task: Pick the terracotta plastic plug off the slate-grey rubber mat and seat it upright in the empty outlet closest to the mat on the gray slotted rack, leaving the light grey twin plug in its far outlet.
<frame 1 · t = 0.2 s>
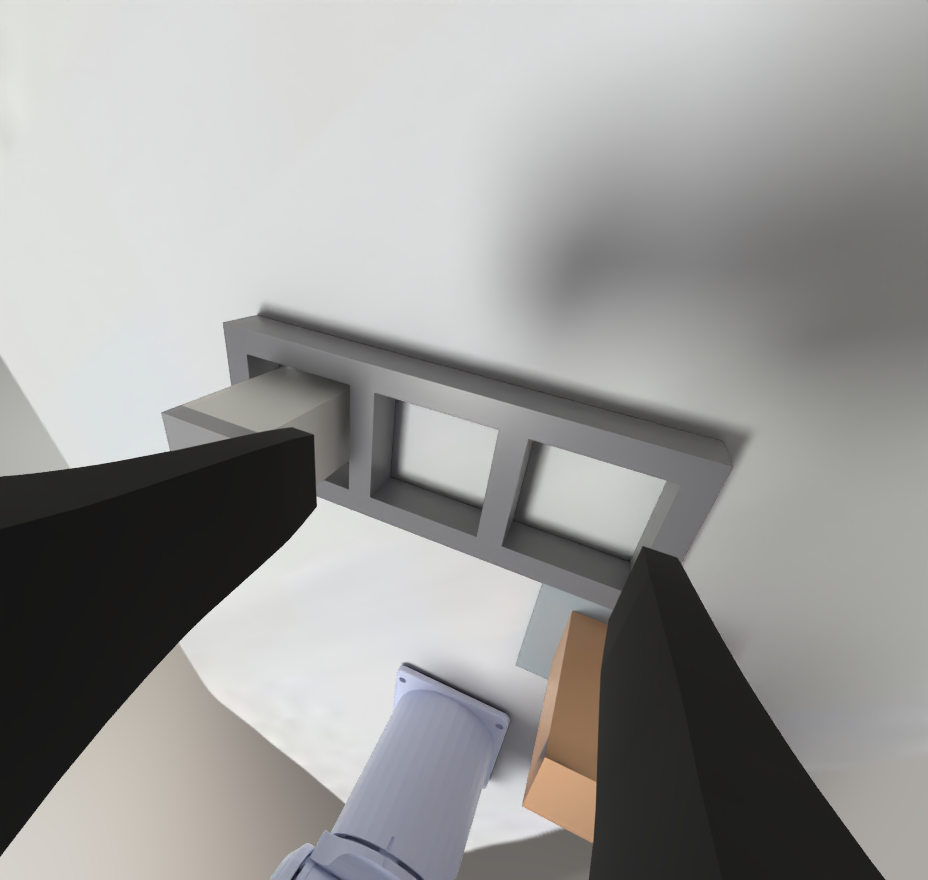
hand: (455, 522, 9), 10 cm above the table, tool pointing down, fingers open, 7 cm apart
gray slotted rack: (445, 447, 20), on the table
mat: (601, 643, 22), on the table
plug: (600, 651, 22), resting on mat
twin plug: (326, 408, 22), resting in gray slotted rack
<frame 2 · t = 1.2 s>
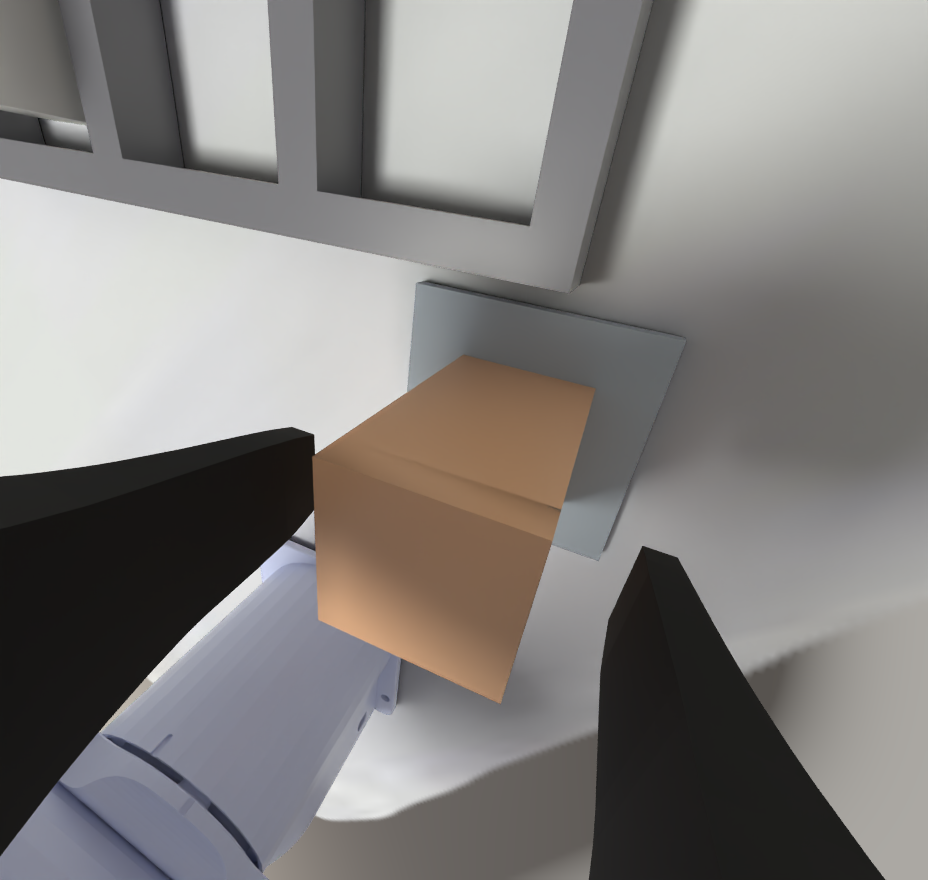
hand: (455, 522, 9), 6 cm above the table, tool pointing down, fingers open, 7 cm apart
gray slotted rack: (241, 65, 12), on the table
mat: (517, 425, 14), on the table
plug: (513, 431, 13), resting on mat
twin plug: (76, 51, 14), resting in gray slotted rack
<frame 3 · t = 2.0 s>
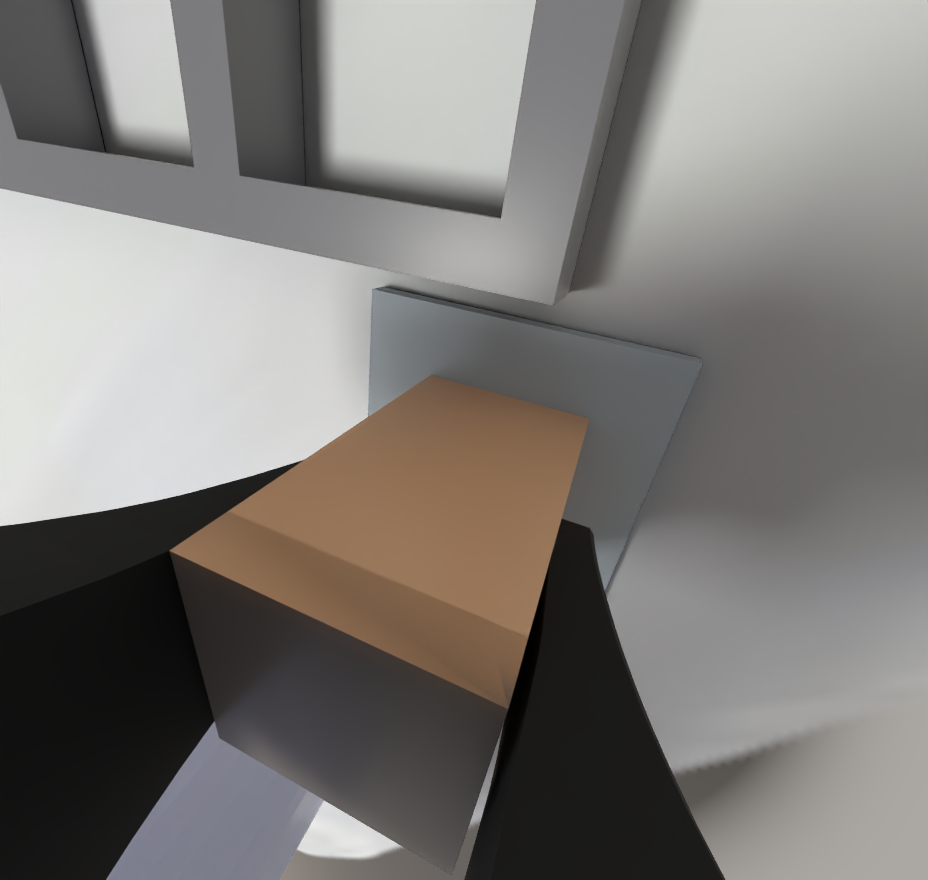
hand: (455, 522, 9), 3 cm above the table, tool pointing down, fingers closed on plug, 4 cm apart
gray slotted rack: (158, 23, 10), on the table
mat: (497, 457, 12), on the table
plug: (491, 465, 11), resting on mat, touching gripper
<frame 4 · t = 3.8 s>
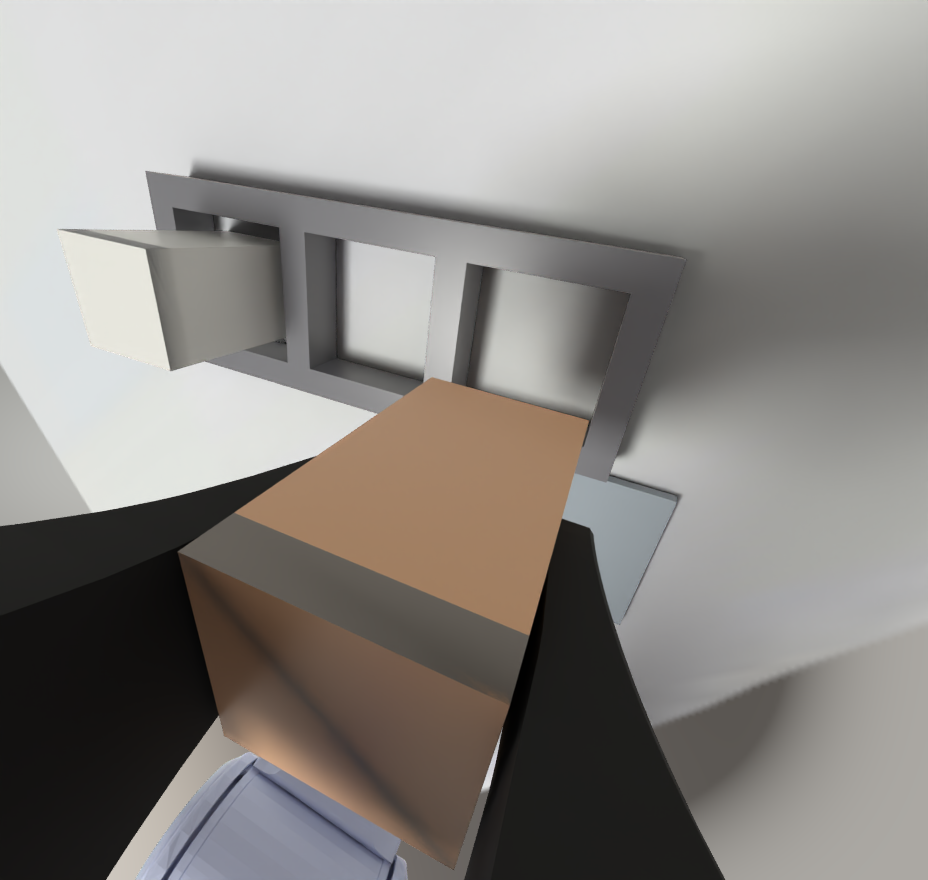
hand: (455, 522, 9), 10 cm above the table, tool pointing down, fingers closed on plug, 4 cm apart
gray slotted rack: (389, 312, 19), on the table
mat: (564, 534, 20), on the table
plug: (492, 466, 11), point 8 cm above the table, touching gripper
twin plug: (266, 283, 20), resting in gray slotted rack
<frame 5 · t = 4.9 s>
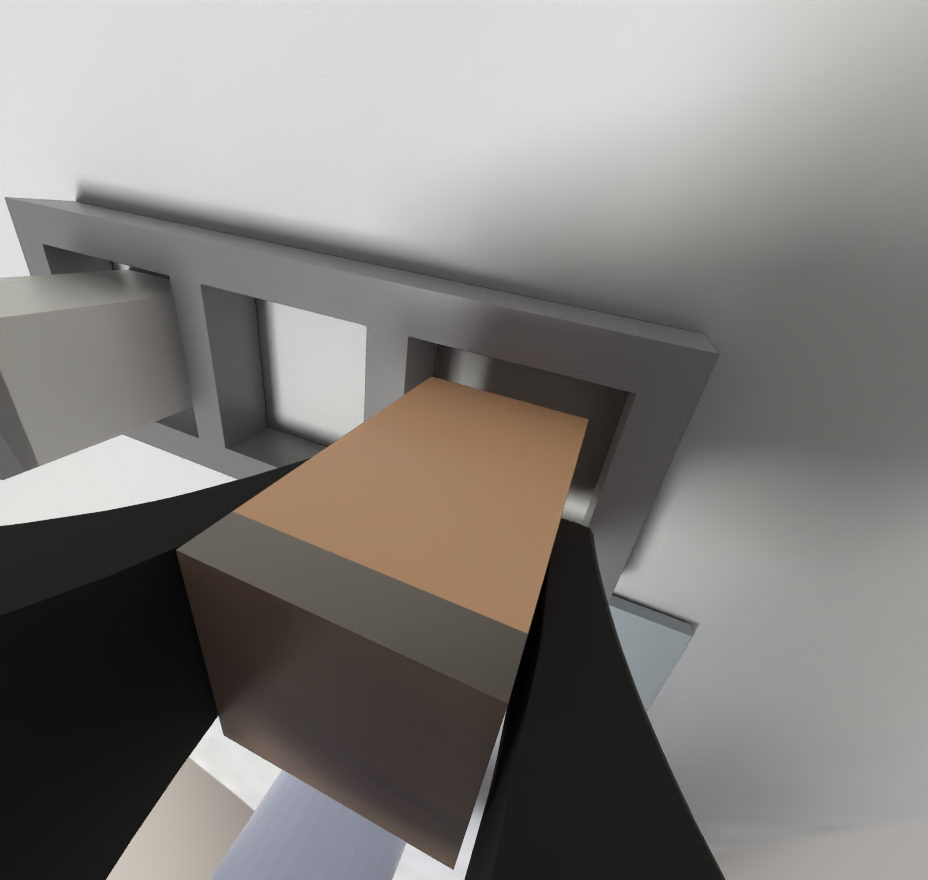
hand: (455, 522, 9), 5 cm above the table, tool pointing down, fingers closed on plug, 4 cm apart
gray slotted rack: (325, 377, 15), on the table
mat: (549, 649, 16), on the table
plug: (492, 465, 11), point 2 cm above the table, touching gripper
twin plug: (178, 333, 16), resting in gray slotted rack
when the fingers open (3 cm above the table, at t = 5.6 s): plug stays where it is, resting in gray slotted rack.
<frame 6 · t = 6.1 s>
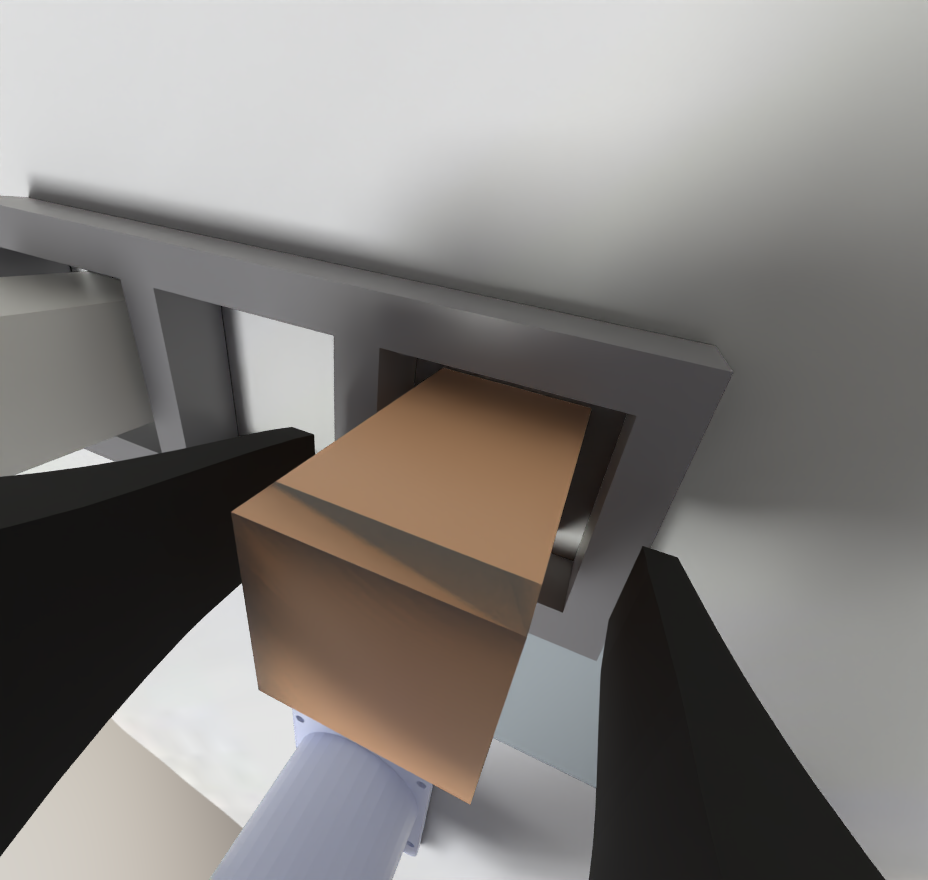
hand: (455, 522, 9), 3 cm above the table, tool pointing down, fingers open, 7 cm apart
gray slotted rack: (298, 389, 13), on the table
mat: (542, 681, 15), on the table
plug: (499, 453, 12), resting in gray slotted rack
twin plug: (142, 340, 15), resting in gray slotted rack
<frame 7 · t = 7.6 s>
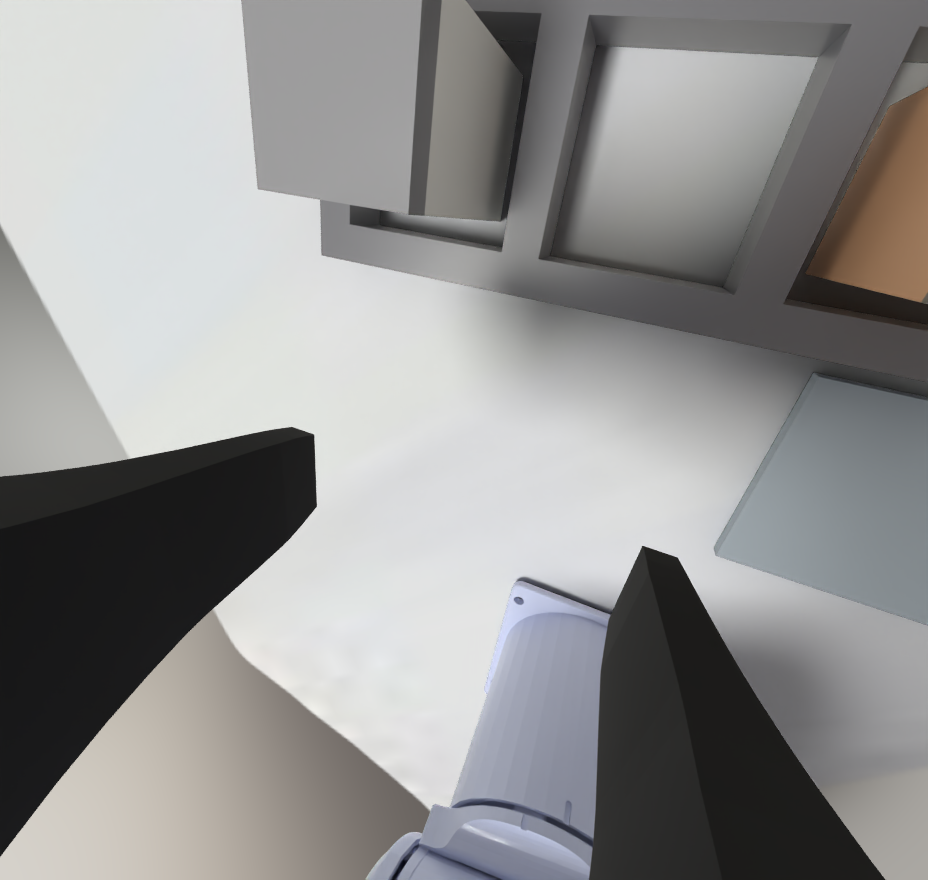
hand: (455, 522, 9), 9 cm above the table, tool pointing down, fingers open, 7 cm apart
gray slotted rack: (662, 172, 13), on the table
mat: (879, 504, 14), on the table
twin plug: (455, 147, 14), resting in gray slotted rack
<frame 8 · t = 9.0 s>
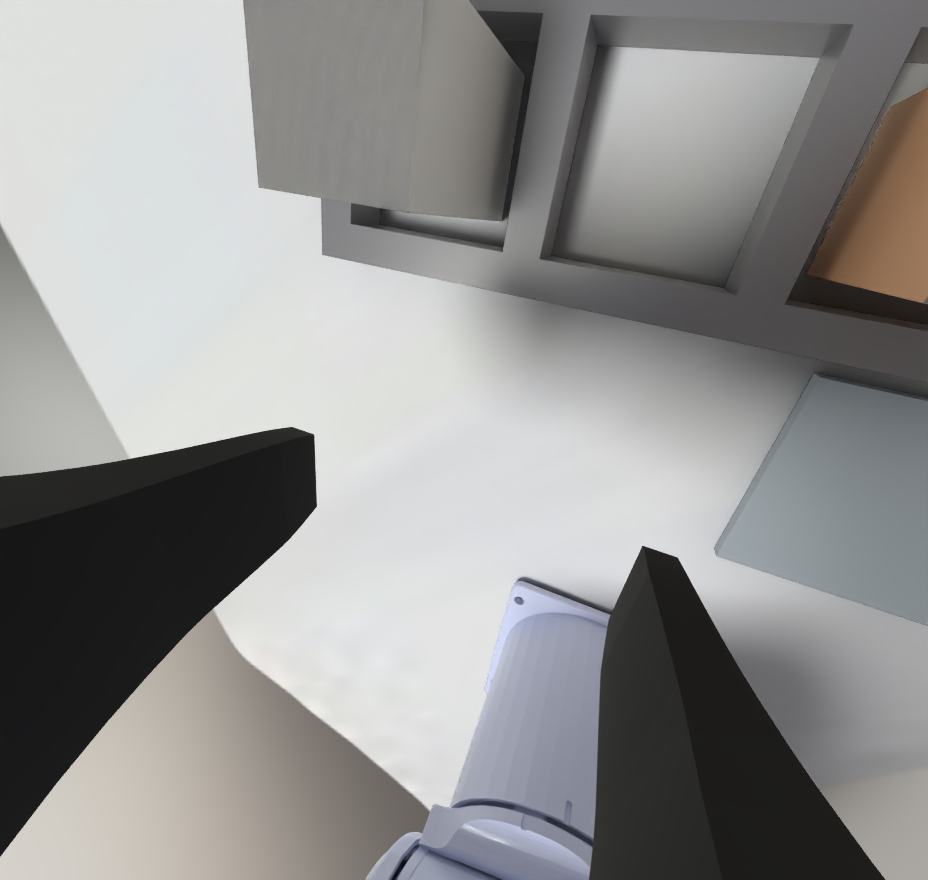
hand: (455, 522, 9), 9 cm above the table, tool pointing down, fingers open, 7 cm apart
gray slotted rack: (664, 172, 13), on the table
mat: (879, 504, 14), on the table
twin plug: (456, 147, 14), resting in gray slotted rack
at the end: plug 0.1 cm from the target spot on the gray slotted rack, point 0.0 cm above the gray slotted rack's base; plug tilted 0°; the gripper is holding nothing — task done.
